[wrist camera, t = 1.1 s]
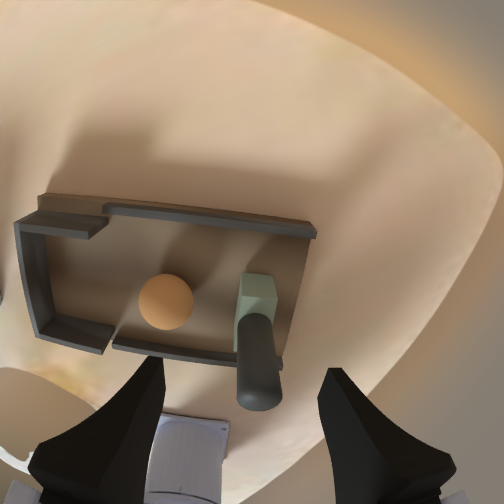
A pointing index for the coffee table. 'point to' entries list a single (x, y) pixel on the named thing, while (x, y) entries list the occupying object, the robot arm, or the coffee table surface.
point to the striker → (256, 343)
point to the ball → (166, 301)
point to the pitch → (152, 272)
